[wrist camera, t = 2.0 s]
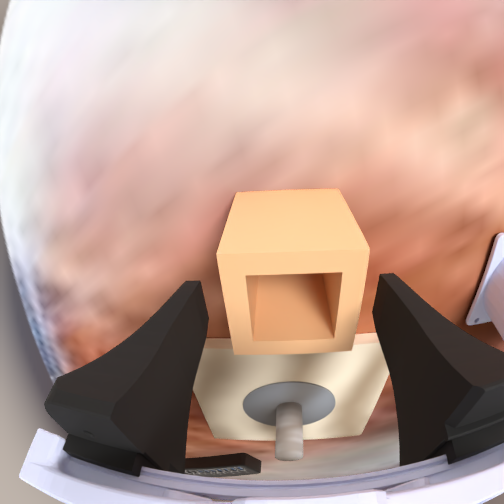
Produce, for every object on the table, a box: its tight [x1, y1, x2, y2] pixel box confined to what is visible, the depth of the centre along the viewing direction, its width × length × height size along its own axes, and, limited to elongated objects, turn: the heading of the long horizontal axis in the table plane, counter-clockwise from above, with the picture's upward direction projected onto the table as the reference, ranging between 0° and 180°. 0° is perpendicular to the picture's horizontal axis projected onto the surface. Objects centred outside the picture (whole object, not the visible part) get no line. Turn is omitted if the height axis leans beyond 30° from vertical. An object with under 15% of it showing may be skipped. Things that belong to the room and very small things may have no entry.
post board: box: [193, 333, 389, 461], centre depth 22 cm, size 16×16×6 cm
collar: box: [216, 189, 370, 355], centre depth 14 cm, size 5×5×6 cm
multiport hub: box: [185, 453, 261, 477], centre depth 36 cm, size 4×14×2 cm, turn 124°
